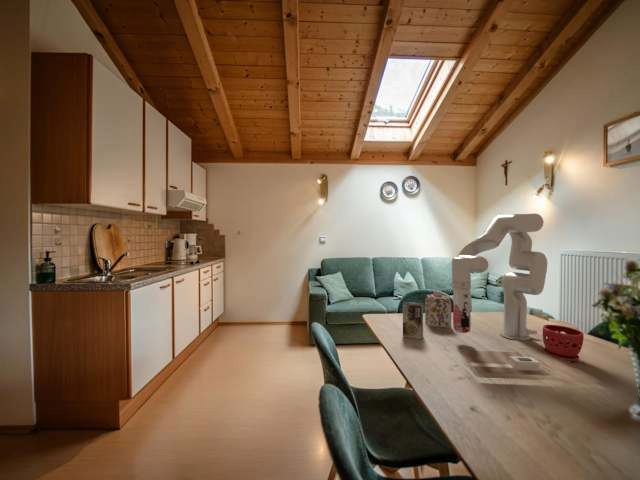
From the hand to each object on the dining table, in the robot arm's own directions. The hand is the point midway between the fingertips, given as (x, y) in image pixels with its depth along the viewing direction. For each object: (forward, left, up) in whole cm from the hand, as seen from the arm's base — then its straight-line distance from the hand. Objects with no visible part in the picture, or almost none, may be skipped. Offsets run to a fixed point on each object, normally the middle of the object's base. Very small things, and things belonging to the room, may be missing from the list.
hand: (461, 324), depth 139 cm
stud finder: (-13, +24, -8) cm, 29 cm away
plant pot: (-36, +9, -10) cm, 39 cm away
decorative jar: (+1, -34, -10) cm, 35 cm away
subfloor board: (-7, +19, -10) cm, 23 cm away
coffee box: (+19, -12, -10) cm, 24 cm away
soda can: (0, 0, -3) cm, 3 cm away
